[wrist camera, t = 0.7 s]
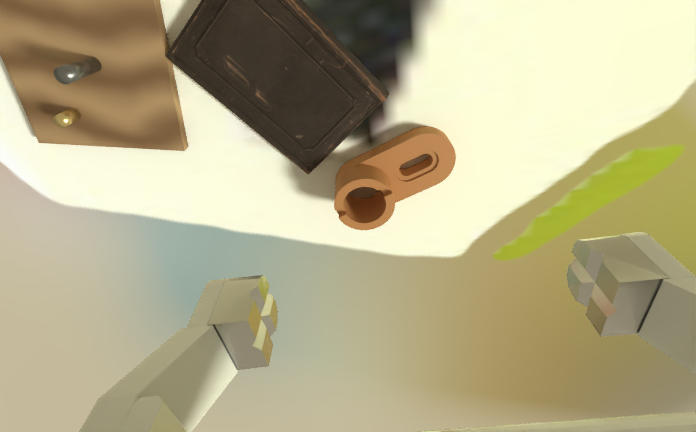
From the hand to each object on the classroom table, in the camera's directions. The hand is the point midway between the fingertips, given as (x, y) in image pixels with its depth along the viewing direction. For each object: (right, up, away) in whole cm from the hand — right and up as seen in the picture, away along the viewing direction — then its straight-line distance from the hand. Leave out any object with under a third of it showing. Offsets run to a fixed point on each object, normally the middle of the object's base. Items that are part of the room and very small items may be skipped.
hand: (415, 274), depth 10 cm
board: (-34, +20, +37) cm, 55 cm away
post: (-33, +20, +36) cm, 53 cm away
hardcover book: (-10, +20, +38) cm, 44 cm away
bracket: (+5, +9, +45) cm, 47 cm away
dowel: (-38, +15, +39) cm, 57 cm away
